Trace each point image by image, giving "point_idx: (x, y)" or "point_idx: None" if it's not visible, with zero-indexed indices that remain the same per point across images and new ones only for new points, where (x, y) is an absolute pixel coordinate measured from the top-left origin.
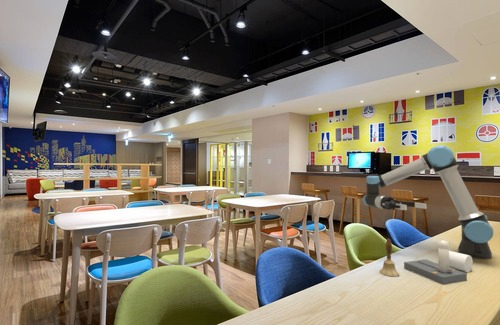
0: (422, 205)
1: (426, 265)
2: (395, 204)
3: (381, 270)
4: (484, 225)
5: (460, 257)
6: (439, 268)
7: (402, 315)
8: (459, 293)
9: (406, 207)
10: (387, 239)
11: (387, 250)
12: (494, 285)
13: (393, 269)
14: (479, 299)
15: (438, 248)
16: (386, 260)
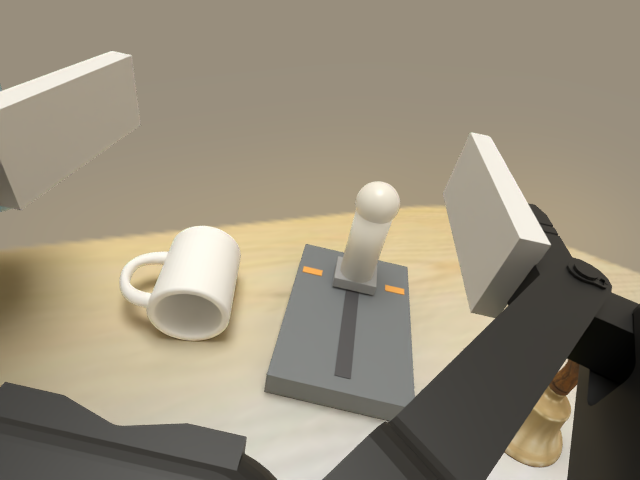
0: (108, 100)
1: (354, 333)
2: (541, 256)
3: (559, 439)
4: (1, 90)
5: (228, 247)
6: (376, 277)
7: (612, 272)
8: (410, 249)
9: (460, 163)
10: None
11: None
12: (274, 222)
13: None
14: (397, 225)
15: (388, 224)
16: (563, 400)
